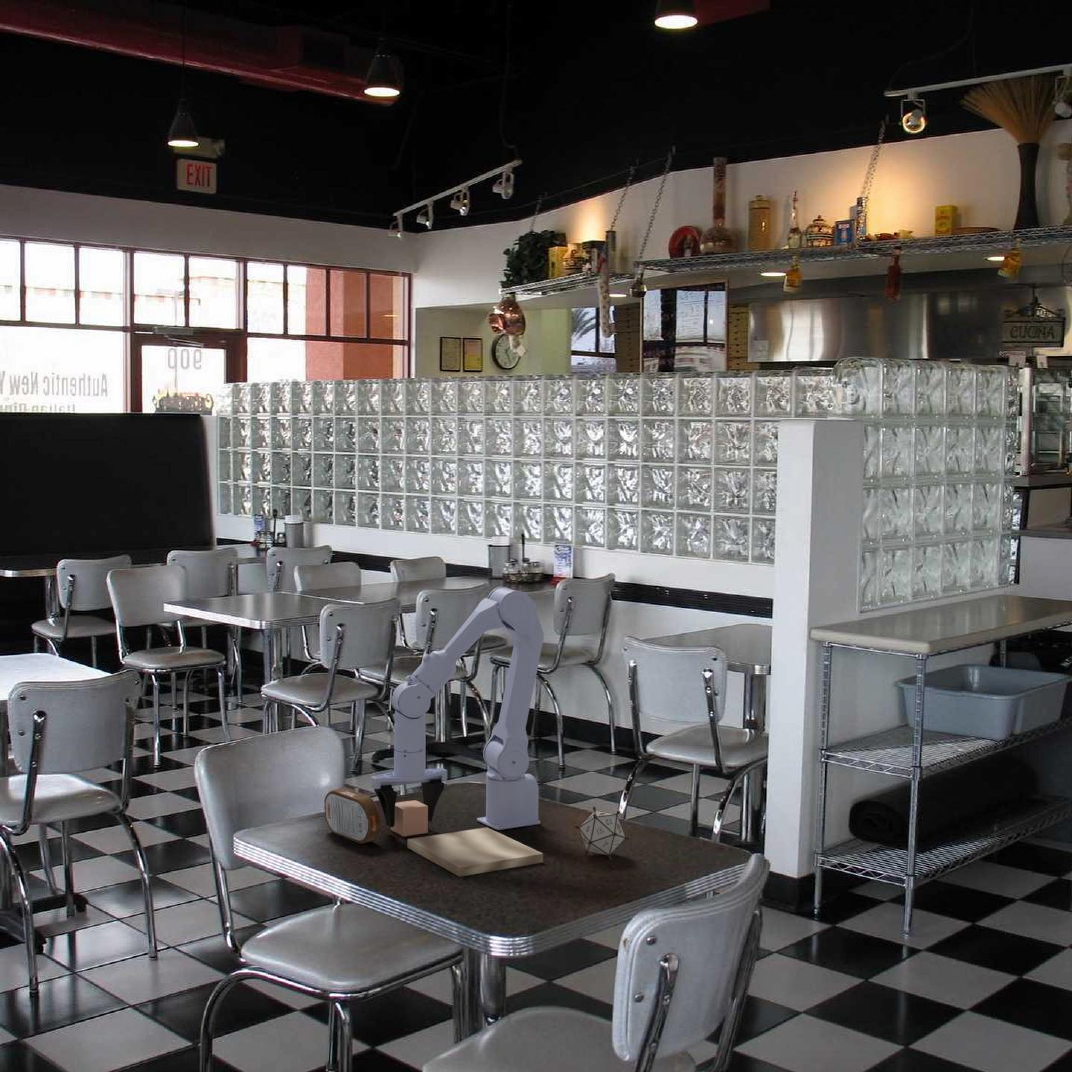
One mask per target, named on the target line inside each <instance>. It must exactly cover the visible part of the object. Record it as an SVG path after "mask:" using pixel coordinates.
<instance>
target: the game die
mask: <svg viewBox="0 0 1072 1072" xmlns="http://www.w3.org/2000/svg"><path fill="white" fill-rule="evenodd" d="M592 811H593V812H592V813H590V815H589V816H587V817H586V819H585V820H584V821H583V822H582V823H581V824H580V825H579V826H578V825H574V826H573V828H574V829H576V830H578V831H579V834H580V836H581V839H582V842H583V845H584V847H585V851H584V854H583V855H584V856H586V855H587V854H588V853H592V854H599V855H605V856H607V857H608V860H610V861H612V854H613V853H614V852H615V850H617V849H618V848H619V846H620V845H621V844H622V842H624V841H625V840H628V841H629V840H631V837H630V836H626V834H625V831H624V829H623V827H622V823H621V822H620V821H621V820H620V818H619V816H618V815H620V814H621V810H617V811H616V813H613V812H612V813H611V812H609V811H608V812H607V811H602V810H601V811H600V810H597V807H596V806H594V805H593V806H592Z"/></svg>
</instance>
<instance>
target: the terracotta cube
mask: <svg viewBox="0 0 1072 1072" xmlns="http://www.w3.org/2000/svg"><path fill="white" fill-rule="evenodd" d="M428 825H429V822H428V806H427V805H425V804H423V803H422V802H421V801H418V800H416V799H415V800H406V801H399V802H398V801H397V802H396V803H395V824H394V827H390V830H391V831H392V832H394V833H395V834H397V835H399V836H401V837H409V836H414V835H422V834H428V833H429V830H428V828H429V826H428Z"/></svg>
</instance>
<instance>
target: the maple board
mask: <svg viewBox="0 0 1072 1072" xmlns="http://www.w3.org/2000/svg"><path fill="white" fill-rule="evenodd" d="M407 849H409V850H411V851H413V852H414V853H416V854H418V855H420V856H421V857H423V858H425V859H427V860H429V861H431V862H433V863H434V864H436V865H438V866H440V867H441V868H443V869H445V870H447V871H448V872H451V873H453V874H454V875H455V876H458V877H459V878H460V877H465V876H471V875H472V876H473V875H476V874H484V873H488V872H494V871H501V870H507V869H511V868H517V867H524V866H530V865H535V864H541V863H544V853H543V852H541V851H538V850H537V849H534V848H533V847H530V846H528V845H526V844H523V843H521V842H520V841H517V840H515V839H513V838H511V837H508V836H506V835H505V834H502V833H501V832H498V831H495V829H494V830H493V828H492V829H491V827H490V828H489V826H487V827H481V828H473V829H466V830H460V831H454V832H447V833H441V834H433V835H427V836H426V835H425V836H420V837H413V838H408V839H407Z"/></svg>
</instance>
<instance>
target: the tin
mask: <svg viewBox="0 0 1072 1072" xmlns="http://www.w3.org/2000/svg"><path fill="white" fill-rule="evenodd" d="M378 807H379V806H378V805H377V802H375V800H374V798H372V797H371V796H369V795H368V794H364V793H362V792H358V791H355V790H353V789H350V788H347V787H343V786H342V787H339V788H337V789H333V790H330V791H328V793H327V794H326V795H325V796H324V808H323V809H324V817H325V821H326V824H327V826H328V828H329V829H330V831H331V832H332V833H333V834H335V835H337V836H340V837H342V838H344V839H347V840H349V841H352V842H355V843H357V844H360V845H361V844H362V845H364V844H367V843H373V842H375V841H377V840H378V839H379V838H380V835H381V833H382V832H381V831H382V815H381V812H380V809H379V808H378Z"/></svg>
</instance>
